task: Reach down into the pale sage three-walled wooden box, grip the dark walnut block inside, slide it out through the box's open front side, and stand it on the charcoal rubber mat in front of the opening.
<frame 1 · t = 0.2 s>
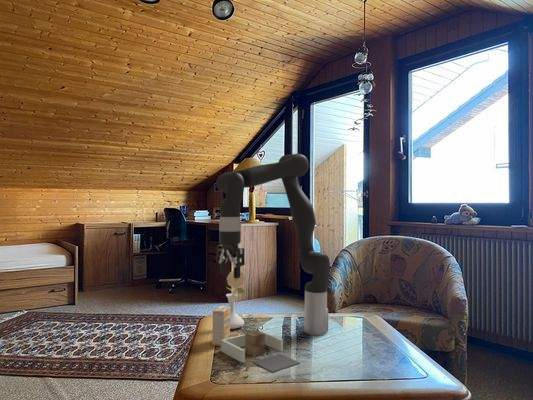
hand: (229, 276, 139), 28 cm above the table, tool pointing down, fingers open, 8 cm apart
open-side box: (254, 352, 143), on the table
flower in vase: (232, 327, 172), on the table
charcoal mat: (276, 363, 134), on the table
supplement box: (221, 343, 153), on the table
walnut block: (255, 342, 143), in the open-side box
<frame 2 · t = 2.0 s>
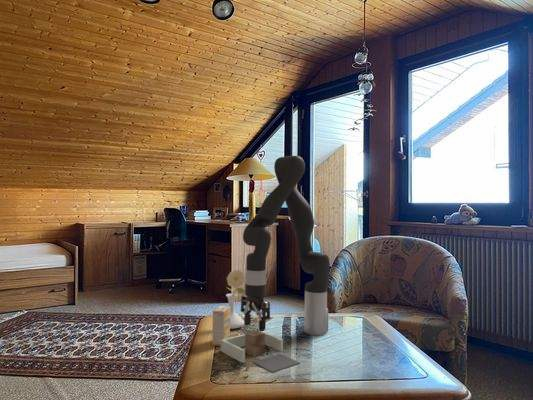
hand: (254, 327, 143), 9 cm above the table, tool pointing down, fingers open, 8 cm apart
nothing on the table moved.
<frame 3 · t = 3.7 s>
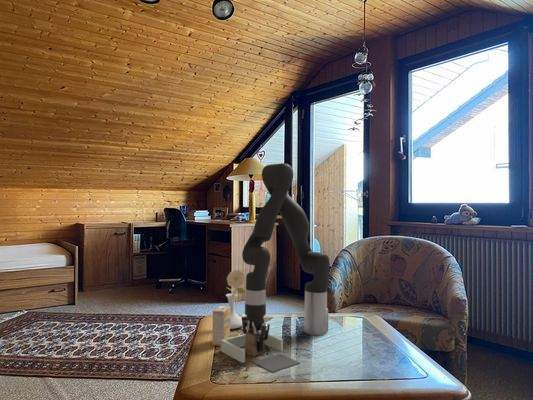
hand: (254, 349, 143), 1 cm above the table, tool pointing down, fingers closed on walnut block, 5 cm apart
walnut block: (255, 342, 143), in the open-side box, touching gripper
everything else where it was.
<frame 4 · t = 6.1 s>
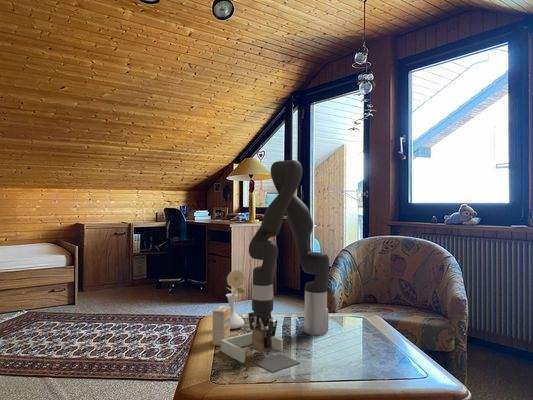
hand: (262, 345, 140), 4 cm above the table, tool pointing down, fingers closed on walnut block, 5 cm apart
walnut block: (262, 339, 140), point 6 cm above the table, touching gripper
everything else where it was.
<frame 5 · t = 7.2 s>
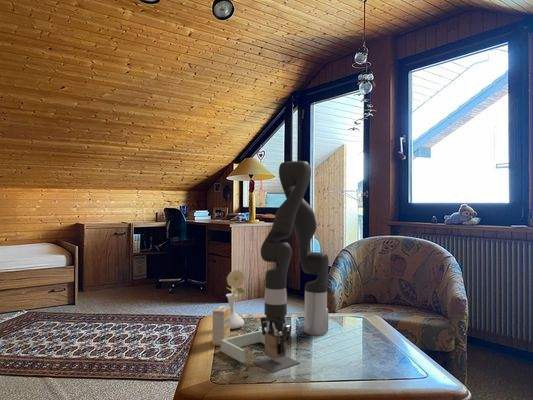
hand: (275, 351, 134), 4 cm above the table, tool pointing down, fingers closed on walnut block, 5 cm apart
walnut block: (275, 344, 134), point 6 cm above the table, touching gripper
everything else where it was.
when the fingers open (2 cm above the table, at t = 8.3 s): walnut block stays where it is, resting on charcoal mat.
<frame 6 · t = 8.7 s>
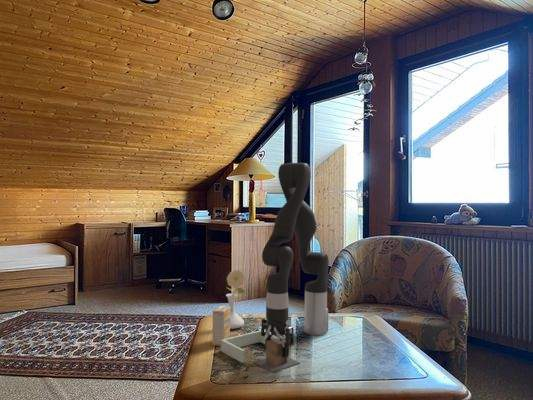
hand: (276, 353, 134), 3 cm above the table, tool pointing down, fingers open, 8 cm apart
walnut block: (276, 351, 134), resting on charcoal mat
everything else where it was.
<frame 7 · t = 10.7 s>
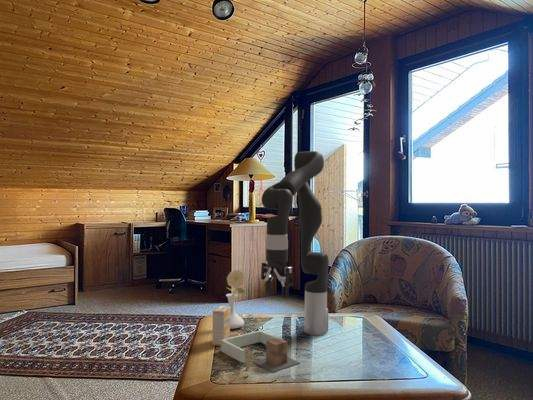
hand: (276, 295, 136), 22 cm above the table, tool pointing down, fingers open, 8 cm apart
nothing on the table moved.
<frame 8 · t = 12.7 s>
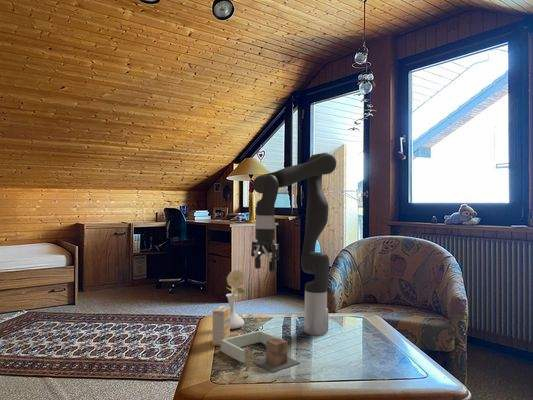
hand: (264, 269, 152), 28 cm above the table, tool pointing down, fingers open, 8 cm apart
nothing on the table moved.
at the end: walnut block inside the target area (0.0 cm from its centre), resting on charcoal mat; walnut block tilted 0°; the gripper is holding nothing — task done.
